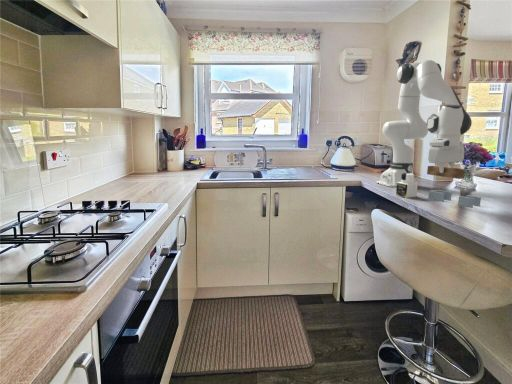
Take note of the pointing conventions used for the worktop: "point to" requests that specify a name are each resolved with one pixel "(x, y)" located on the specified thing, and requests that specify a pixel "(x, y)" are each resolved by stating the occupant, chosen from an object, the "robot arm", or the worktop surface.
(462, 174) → the slat
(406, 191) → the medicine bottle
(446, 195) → the cap closed
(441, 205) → the worktop surface
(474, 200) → the cap open
